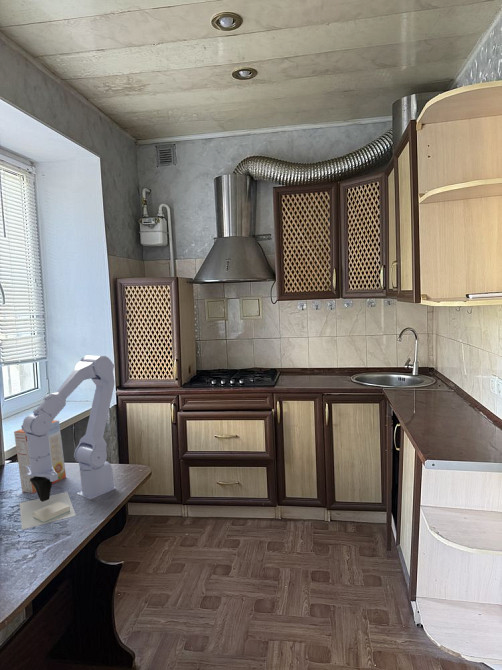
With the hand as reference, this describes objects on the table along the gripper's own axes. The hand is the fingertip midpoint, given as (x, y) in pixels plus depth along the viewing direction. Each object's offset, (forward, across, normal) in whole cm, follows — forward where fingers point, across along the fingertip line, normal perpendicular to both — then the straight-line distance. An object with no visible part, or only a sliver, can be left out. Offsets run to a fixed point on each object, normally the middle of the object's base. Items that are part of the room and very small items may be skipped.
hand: (44, 499), depth 141 cm
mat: (+4, -2, +1) cm, 4 cm away
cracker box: (+4, -22, +11) cm, 25 cm away
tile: (+3, 0, 0) cm, 3 cm away
